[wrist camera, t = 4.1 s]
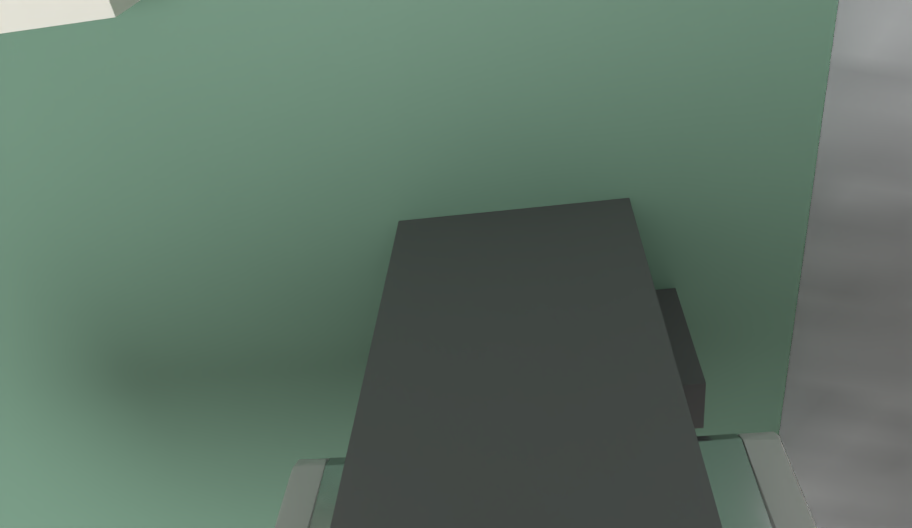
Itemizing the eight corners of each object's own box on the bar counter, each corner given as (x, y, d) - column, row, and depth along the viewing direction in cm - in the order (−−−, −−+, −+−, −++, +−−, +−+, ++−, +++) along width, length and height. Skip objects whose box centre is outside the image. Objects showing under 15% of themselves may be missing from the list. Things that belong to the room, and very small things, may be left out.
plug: (677, 192, 12) (881, 708, 6) (672, 405, 15) (806, 921, 9) (398, 220, 13) (287, 716, 6) (442, 420, 16) (398, 912, 9)
